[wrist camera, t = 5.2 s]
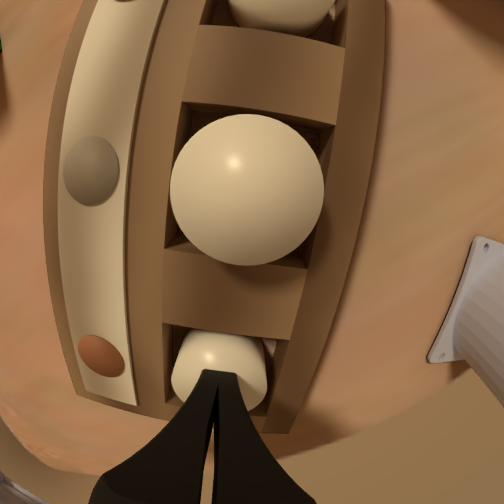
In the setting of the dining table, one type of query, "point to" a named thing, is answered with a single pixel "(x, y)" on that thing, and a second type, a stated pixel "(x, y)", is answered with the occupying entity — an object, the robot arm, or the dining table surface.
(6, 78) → the dining table surface
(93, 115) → the board
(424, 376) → the dining table surface
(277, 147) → the button middle
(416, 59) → the dining table surface
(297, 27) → the outer button
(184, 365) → the outer button
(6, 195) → the dining table surface
